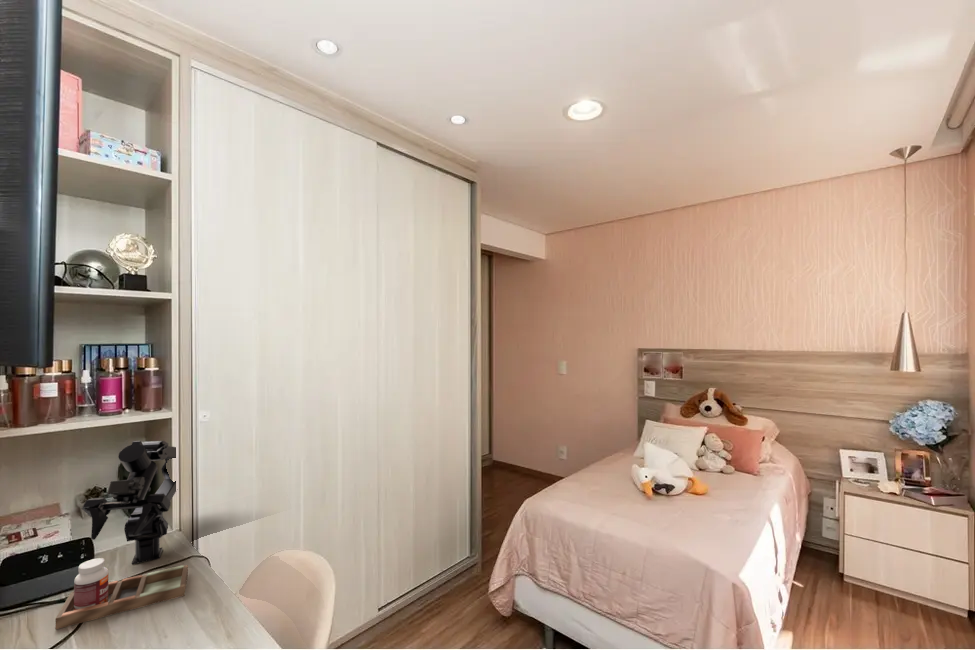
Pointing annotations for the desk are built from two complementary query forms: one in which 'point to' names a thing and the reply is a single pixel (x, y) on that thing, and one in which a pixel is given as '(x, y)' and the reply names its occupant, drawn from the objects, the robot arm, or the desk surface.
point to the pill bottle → (91, 584)
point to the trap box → (129, 595)
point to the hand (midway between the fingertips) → (113, 537)
